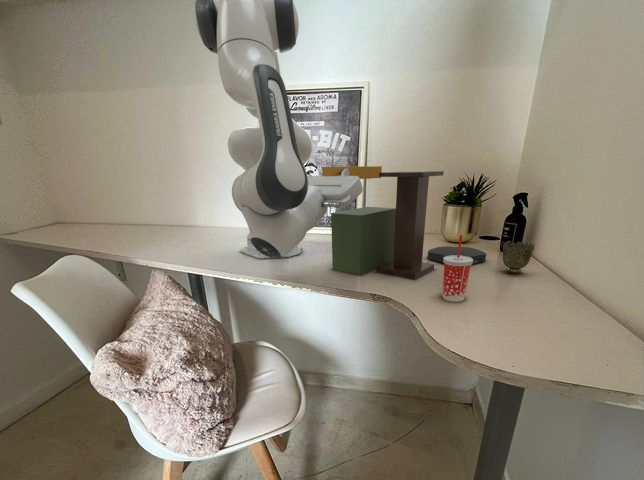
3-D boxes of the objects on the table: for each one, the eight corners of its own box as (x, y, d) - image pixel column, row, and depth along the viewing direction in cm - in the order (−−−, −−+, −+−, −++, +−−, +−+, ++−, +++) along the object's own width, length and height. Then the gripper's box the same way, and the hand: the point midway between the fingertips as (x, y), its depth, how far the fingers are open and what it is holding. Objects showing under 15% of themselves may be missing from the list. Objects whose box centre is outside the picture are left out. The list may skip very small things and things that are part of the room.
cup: (501, 267, 96) (506, 239, 93) (530, 271, 92) (536, 242, 89) (495, 274, 91) (500, 244, 87) (525, 278, 87) (532, 247, 84)
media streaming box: (422, 257, 108) (422, 248, 107) (454, 252, 114) (455, 243, 113) (457, 268, 96) (458, 258, 95) (490, 261, 103) (492, 251, 102)
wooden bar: (322, 180, 81) (322, 166, 80) (372, 177, 96) (372, 166, 95) (332, 180, 79) (331, 166, 78) (381, 177, 95) (381, 166, 93)
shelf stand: (376, 272, 94) (379, 172, 84) (397, 263, 103) (402, 171, 92) (414, 279, 88) (423, 172, 77) (434, 269, 96) (443, 171, 85)
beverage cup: (459, 292, 78) (467, 231, 73) (472, 301, 73) (482, 237, 67) (434, 294, 77) (440, 233, 72) (446, 303, 72) (454, 238, 66)
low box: (332, 269, 98) (330, 212, 91) (367, 257, 111) (367, 206, 104) (360, 275, 92) (360, 215, 86) (393, 261, 105) (395, 208, 98)
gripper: (338, 193, 69) (371, 157, 74) (272, 191, 80) (305, 160, 86) (347, 219, 73) (378, 183, 79) (283, 213, 85) (314, 182, 91)
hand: (339, 171), depth 82 cm, fingers closed on wooden bar, 3 cm apart
